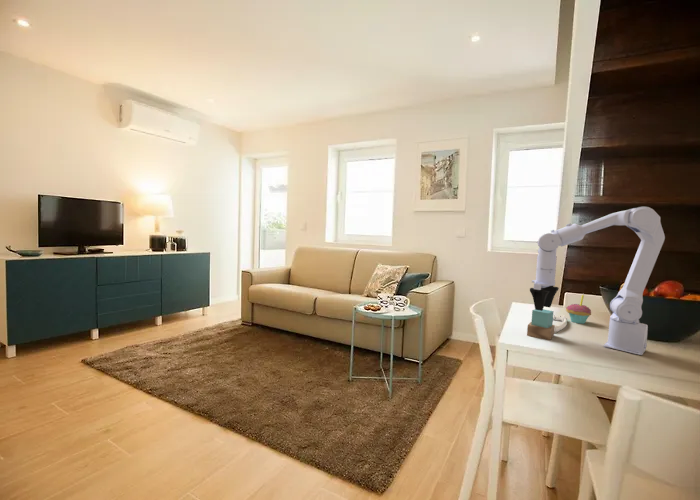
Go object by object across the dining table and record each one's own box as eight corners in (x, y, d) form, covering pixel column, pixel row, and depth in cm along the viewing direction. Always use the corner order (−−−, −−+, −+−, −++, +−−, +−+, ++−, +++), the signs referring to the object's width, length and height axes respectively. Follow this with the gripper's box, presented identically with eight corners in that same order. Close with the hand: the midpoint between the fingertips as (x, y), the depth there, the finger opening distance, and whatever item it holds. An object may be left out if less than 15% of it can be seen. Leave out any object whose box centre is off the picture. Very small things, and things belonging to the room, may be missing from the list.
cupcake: (595, 325, 135) (598, 294, 134) (573, 324, 135) (576, 294, 134) (581, 319, 144) (583, 290, 143) (560, 318, 144) (562, 289, 143)
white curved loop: (571, 322, 140) (559, 336, 121) (544, 317, 147) (528, 329, 128) (572, 315, 140) (559, 328, 121) (544, 311, 147) (528, 322, 128)
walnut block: (553, 336, 121) (554, 324, 120) (550, 341, 115) (551, 329, 115) (531, 331, 125) (532, 320, 125) (526, 336, 119) (527, 324, 119)
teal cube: (552, 325, 119) (553, 311, 119) (547, 328, 116) (548, 313, 116) (536, 322, 123) (537, 308, 123) (531, 324, 120) (532, 310, 119)
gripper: (540, 266, 126) (538, 303, 127) (525, 269, 116) (522, 309, 117) (562, 268, 121) (559, 307, 122) (548, 271, 111) (545, 313, 112)
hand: (542, 308), depth 119 cm, fingers open, 7 cm apart
